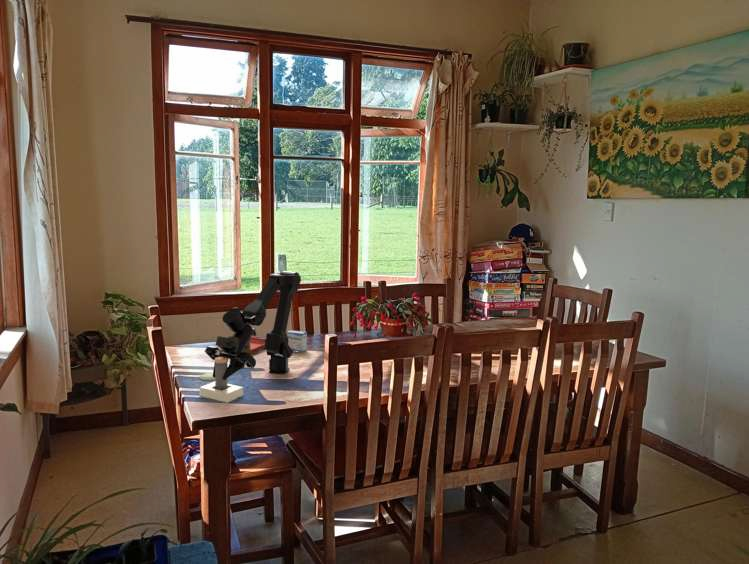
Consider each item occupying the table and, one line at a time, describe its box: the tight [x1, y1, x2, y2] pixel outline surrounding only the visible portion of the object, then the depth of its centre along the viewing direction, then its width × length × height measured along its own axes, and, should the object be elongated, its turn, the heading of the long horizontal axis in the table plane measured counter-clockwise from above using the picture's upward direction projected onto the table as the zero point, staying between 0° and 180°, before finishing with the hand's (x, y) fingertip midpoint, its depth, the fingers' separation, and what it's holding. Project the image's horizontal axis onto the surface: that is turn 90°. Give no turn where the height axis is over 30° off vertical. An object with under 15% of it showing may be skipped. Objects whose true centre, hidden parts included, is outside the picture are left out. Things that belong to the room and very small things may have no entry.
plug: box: [214, 357, 229, 391], centre depth 200 cm, size 4×4×13 cm
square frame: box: [199, 381, 244, 403], centre depth 201 cm, size 8×12×3 cm, turn 63°
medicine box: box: [286, 330, 308, 353], centre depth 259 cm, size 8×4×9 cm, turn 73°
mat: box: [199, 372, 215, 382], centre depth 220 cm, size 8×8×1 cm
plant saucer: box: [216, 336, 266, 355], centre depth 261 cm, size 18×18×3 cm
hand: (218, 378), depth 199 cm, fingers closed on plug, 4 cm apart
